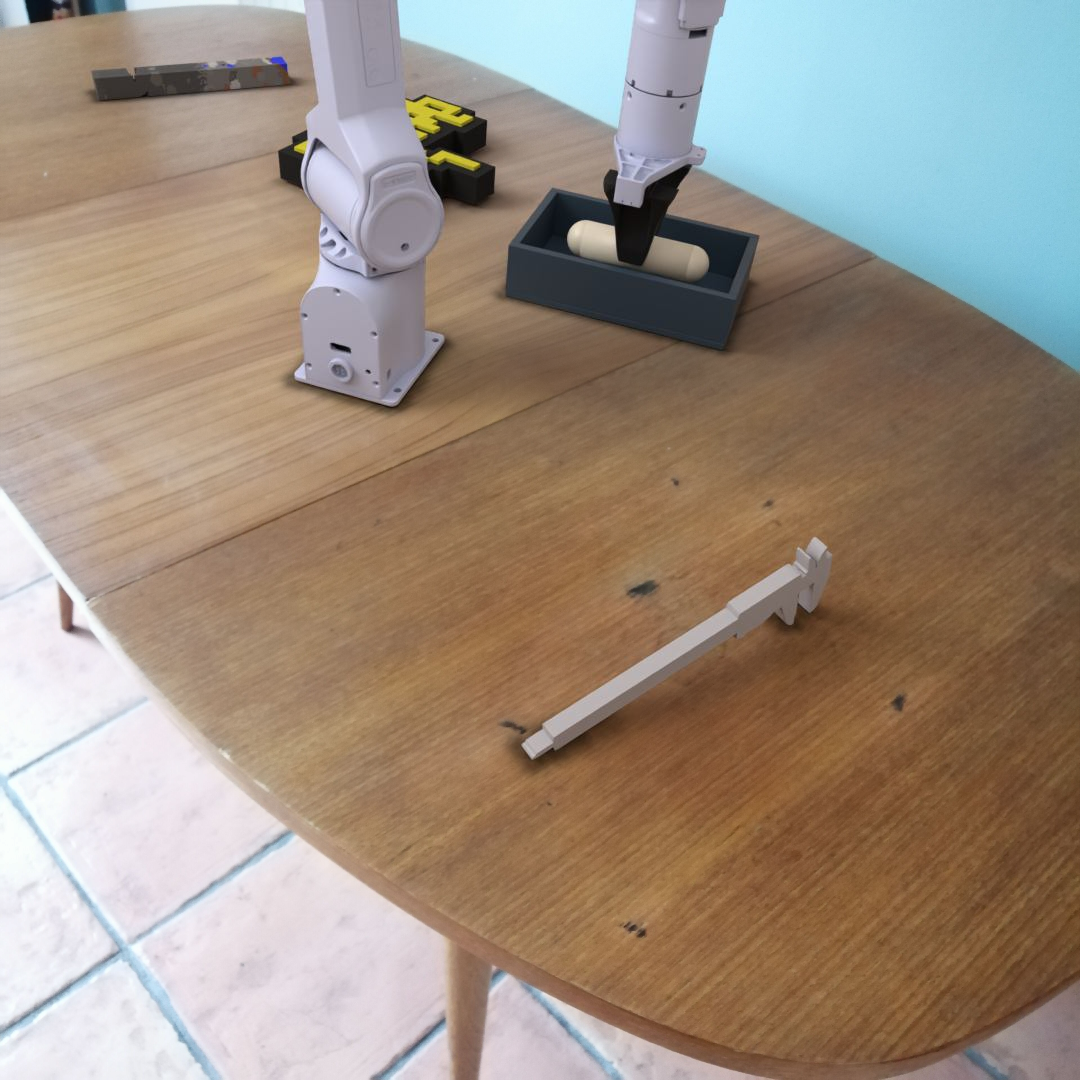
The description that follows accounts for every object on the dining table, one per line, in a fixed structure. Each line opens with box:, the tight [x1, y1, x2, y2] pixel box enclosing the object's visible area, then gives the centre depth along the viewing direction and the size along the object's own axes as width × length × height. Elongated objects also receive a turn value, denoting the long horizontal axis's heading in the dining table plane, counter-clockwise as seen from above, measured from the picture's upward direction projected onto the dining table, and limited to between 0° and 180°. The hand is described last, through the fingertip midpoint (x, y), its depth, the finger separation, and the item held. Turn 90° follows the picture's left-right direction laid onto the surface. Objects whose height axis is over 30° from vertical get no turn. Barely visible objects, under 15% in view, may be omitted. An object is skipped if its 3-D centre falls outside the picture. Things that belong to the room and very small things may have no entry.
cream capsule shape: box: [567, 220, 709, 283], centre depth 83 cm, size 3×12×3 cm, turn 72°
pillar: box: [90, 56, 292, 101], centre depth 107 cm, size 2×2×20 cm
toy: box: [277, 94, 497, 206], centre depth 97 cm, size 18×3×20 cm
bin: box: [504, 187, 760, 351], centre depth 84 cm, size 11×18×5 cm, turn 72°
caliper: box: [521, 536, 833, 760], centre depth 54 cm, size 20×1×6 cm, turn 124°
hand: (635, 252), depth 83 cm, fingers closed on cream capsule shape, 3 cm apart
